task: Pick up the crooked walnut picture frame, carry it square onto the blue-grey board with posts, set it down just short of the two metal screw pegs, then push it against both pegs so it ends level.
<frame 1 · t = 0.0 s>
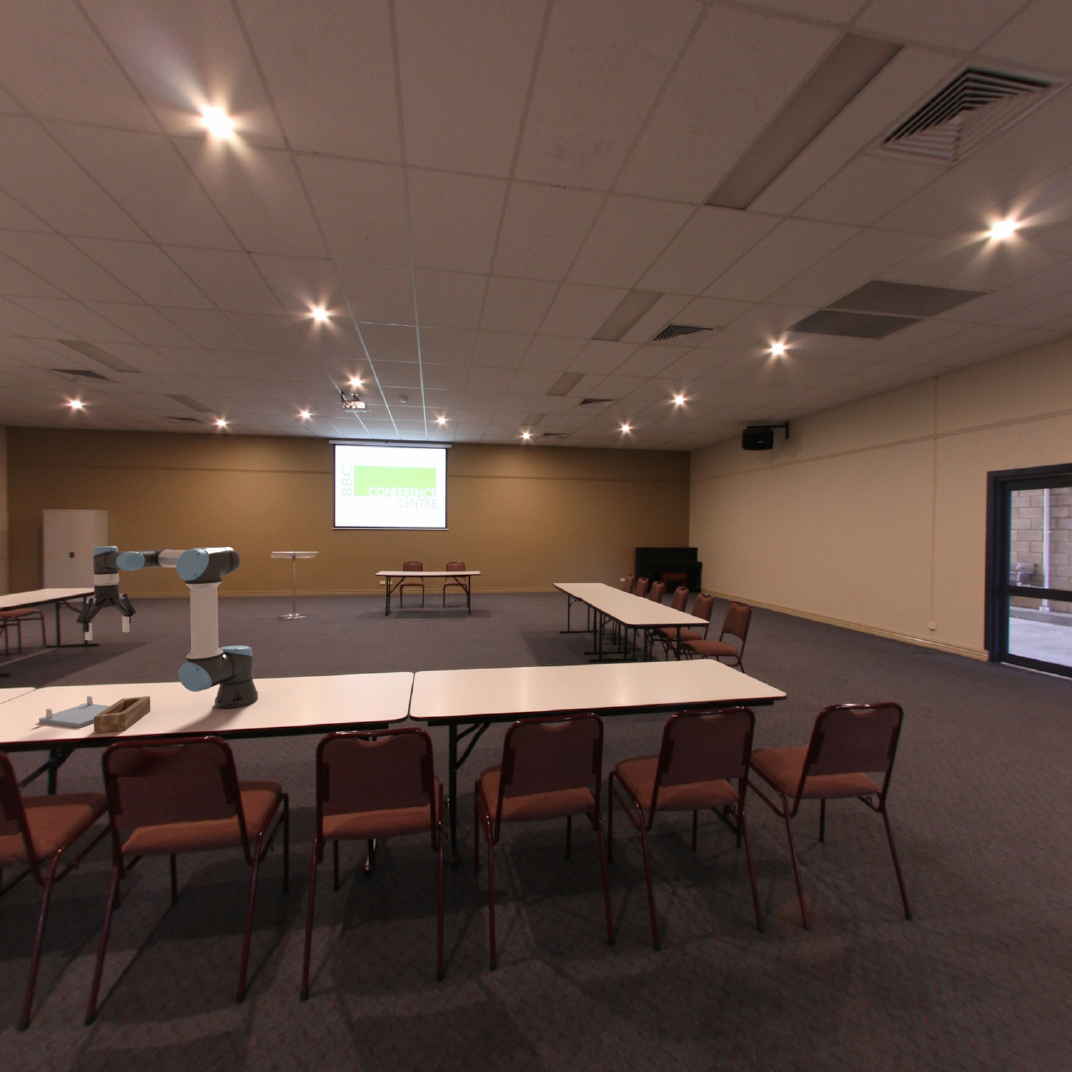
hand: (108, 635, 191), 28 cm above the table, fingers open, 13 cm apart
frame: (123, 721, 174), on the table
blue-grey board with posts: (83, 716, 178), on the table
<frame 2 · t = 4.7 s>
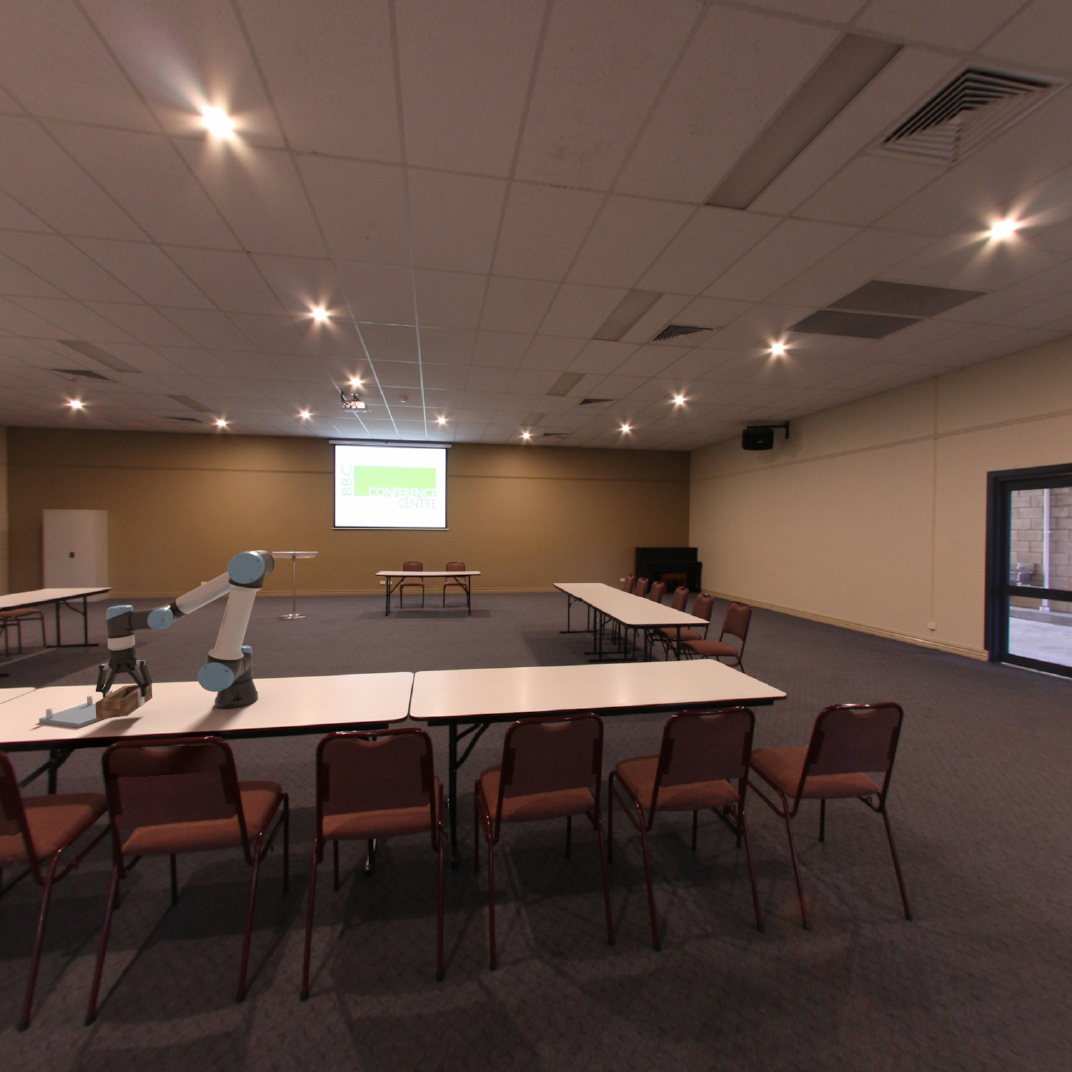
hand: (126, 707, 174), 5 cm above the table, fingers closed on frame, 9 cm apart
frame: (126, 708, 174), point 5 cm above the table, touching gripper
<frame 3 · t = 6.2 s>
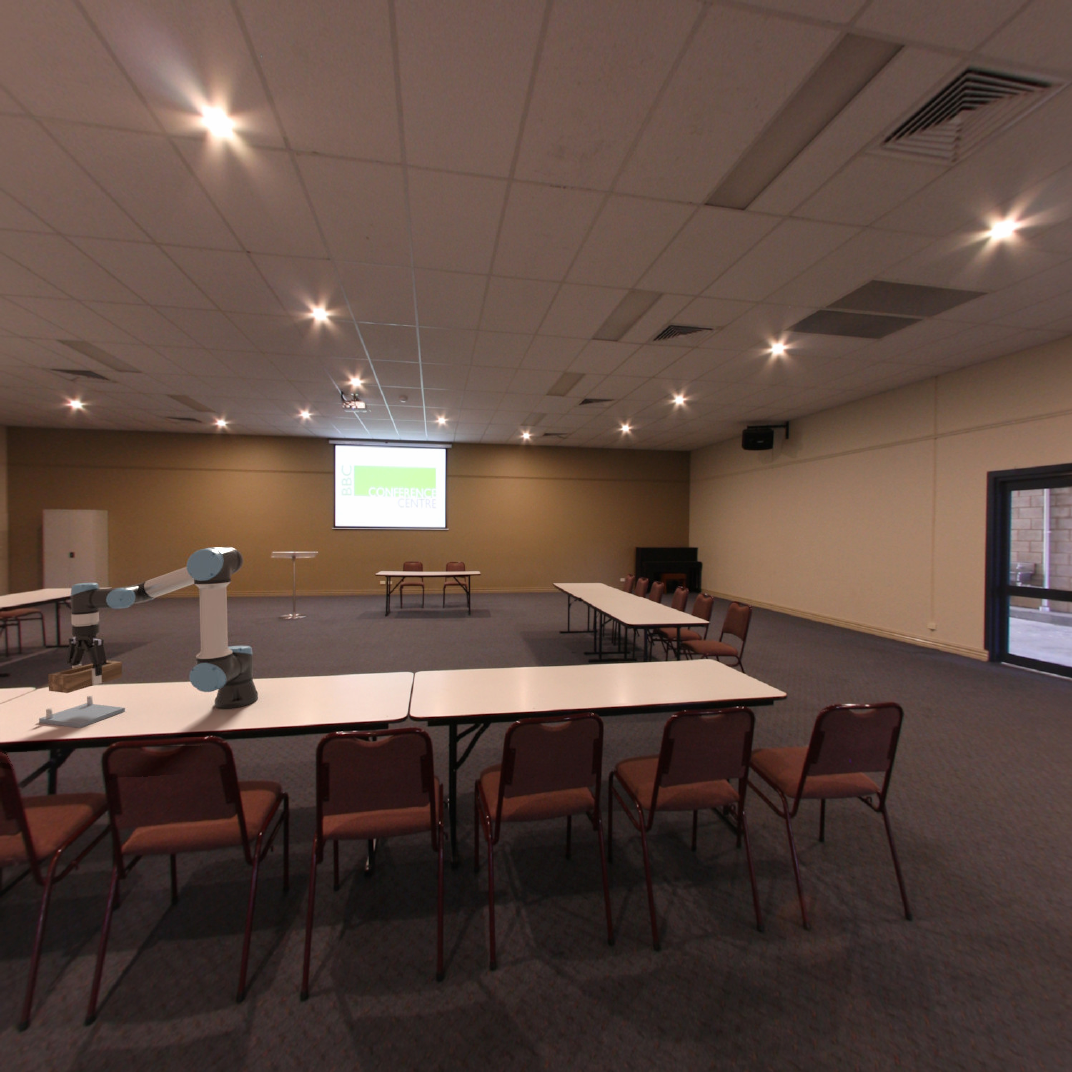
hand: (87, 683, 177), 13 cm above the table, fingers closed on frame, 9 cm apart
frame: (87, 683, 177), point 13 cm above the table, touching gripper
when the fingers open (2 cm above the table, at t = 7.9 s): frame stays where it is, resting on blue-grey board with posts.
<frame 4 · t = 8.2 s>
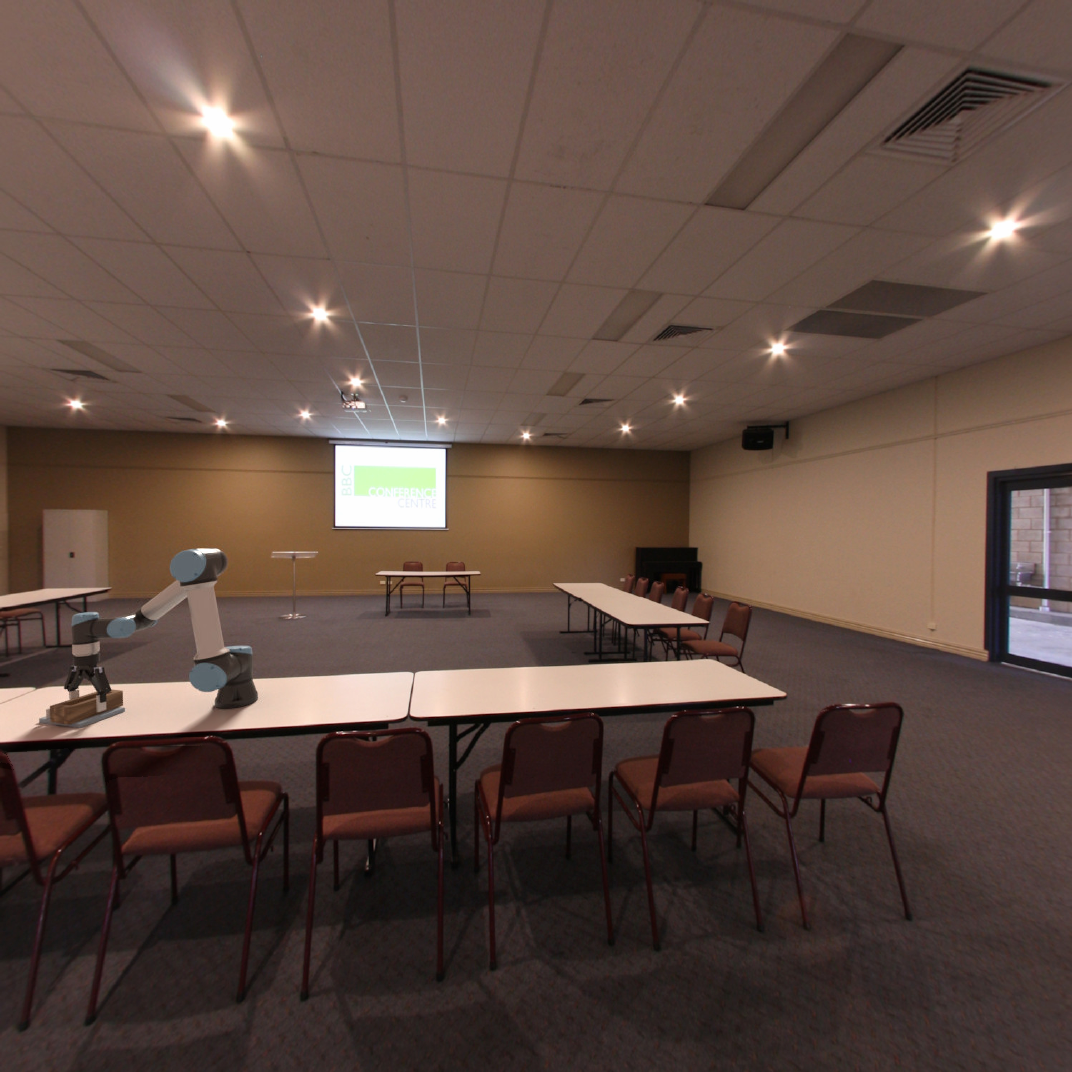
hand: (88, 709, 177), 3 cm above the table, fingers open, 13 cm apart
frame: (88, 713, 178), point 1 cm above the table, touching blue-grey board with posts
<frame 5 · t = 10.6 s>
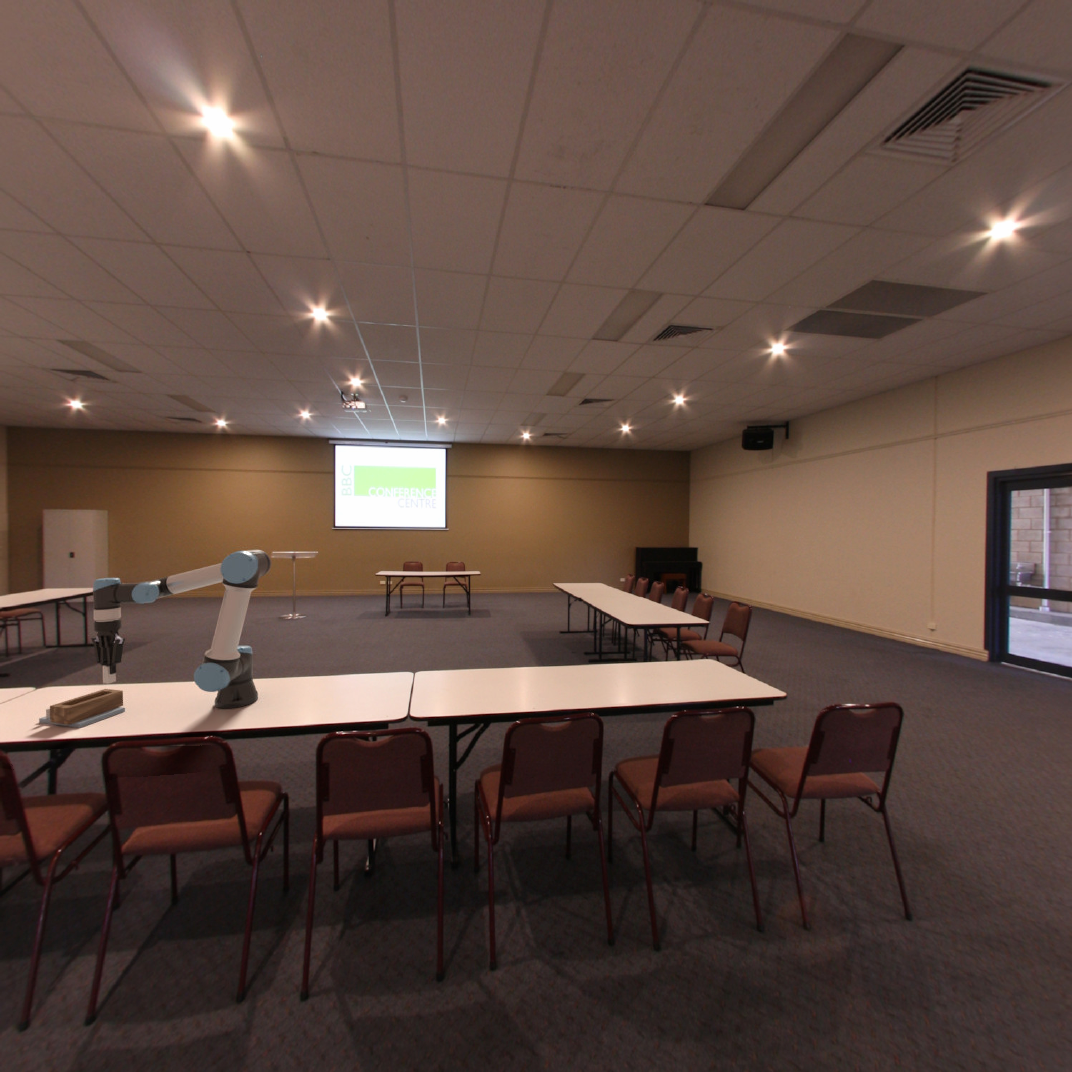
hand: (109, 682, 175), 14 cm above the table, fingers closed
nothing on the table moved.
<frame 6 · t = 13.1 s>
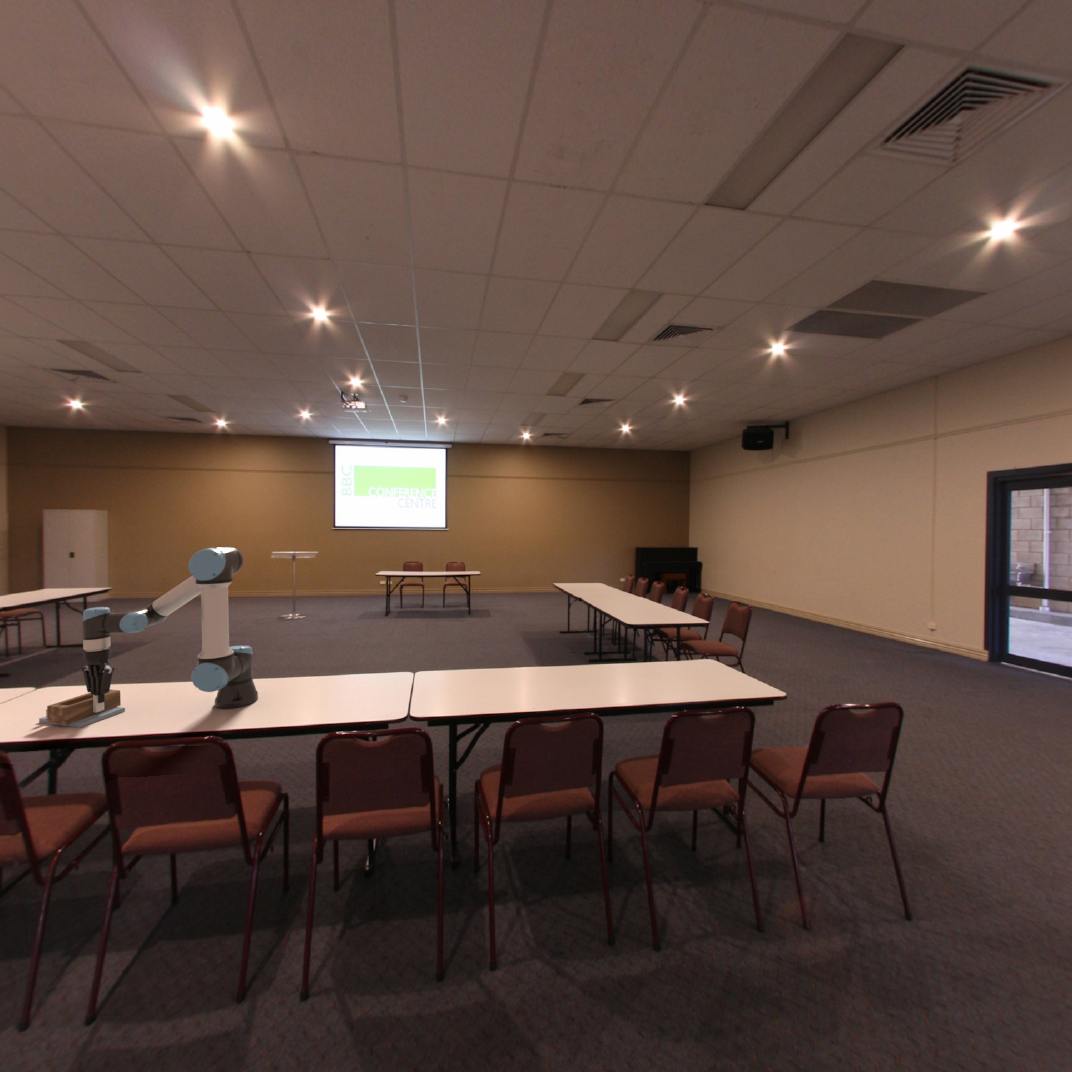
hand: (98, 710, 176), 3 cm above the table, fingers closed
frame: (85, 713, 178), point 2 cm above the table, touching gripper, blue-grey board with posts
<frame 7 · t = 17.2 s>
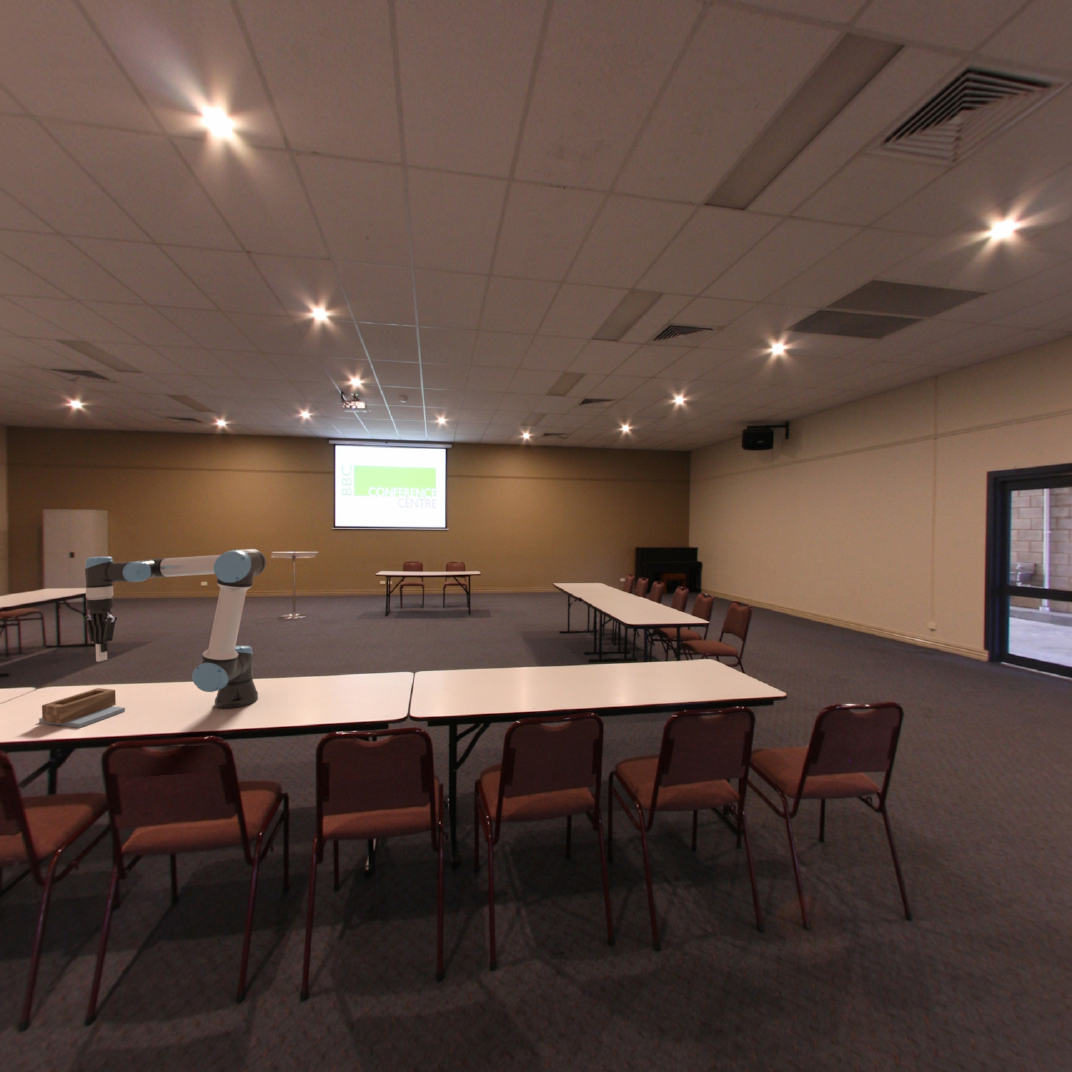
hand: (101, 660, 175), 22 cm above the table, fingers closed
frame: (80, 712, 178), point 1 cm above the table, touching blue-grey board with posts
at the end: frame 0.5 cm off-centre on the blue-grey board with posts, point 1.5 cm above the blue-grey board with posts's base; frame tilted 0°; the gripper is holding nothing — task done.
